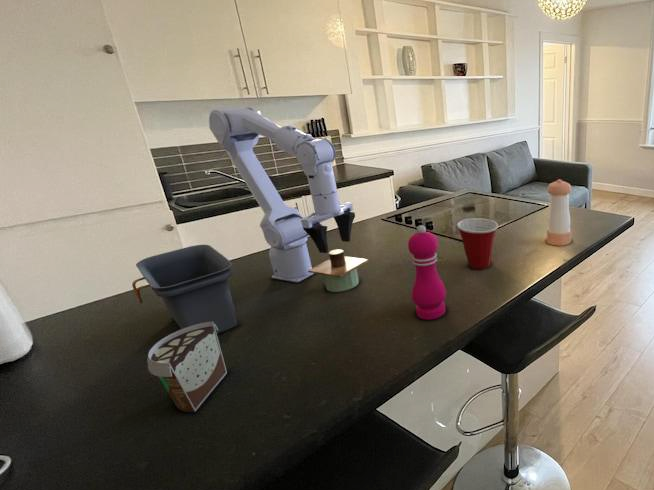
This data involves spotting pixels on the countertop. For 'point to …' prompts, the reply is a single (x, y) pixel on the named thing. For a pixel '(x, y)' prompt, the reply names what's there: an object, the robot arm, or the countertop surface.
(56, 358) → the countertop surface
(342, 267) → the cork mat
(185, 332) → the food container
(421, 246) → the pepper mill
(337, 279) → the green cup
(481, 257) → the plastic cup
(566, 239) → the salt shaker
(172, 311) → the storage bin
